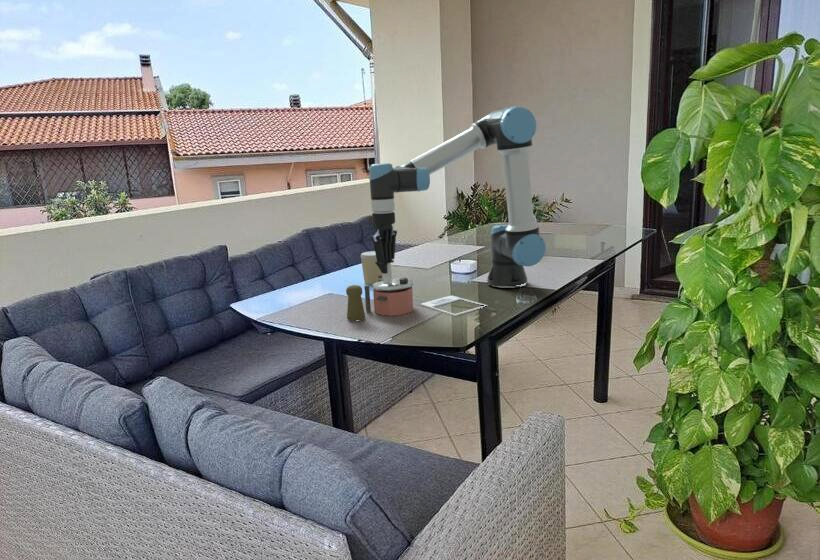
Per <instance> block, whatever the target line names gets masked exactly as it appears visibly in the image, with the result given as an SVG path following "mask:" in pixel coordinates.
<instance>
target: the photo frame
mask: <svg viewBox="0 0 820 560" xmlns="http://www.w3.org/2000/svg"><path fill="white" fill-rule="evenodd" d="M462 300H464V301H463V302H466V301H467V302H466V303H469V302H471V303H470V304H473V303H475V304H474V305H477V304H479V305H478V306H477V307H474V308H471V309H468V310H464V311H461V312H457V313H453V312H451V311H447V310H443V309H439V308H437V307H439V306H445V305H447V304H451V303H453V302H458V301H462ZM480 305H484V306H480ZM419 306H421V307H423V308H424V307H425V308H428V309H431V310H433V311H436V312H440V313H443V314H447V315H449V316H453V317H457V316H461V315H465V314H468V313H471V312H474V310H475V311H478V310H481V309H484V308H483V307H485V306H487V307H488V304H485V303H482V302H477V301H473V300H470V299H466V298H462V297H459V296H455V295H452V294H451V295H447V296H444V297H440V298H436V299H432V300H429V301H426V302H422V303H419ZM480 308H481V309H480ZM485 308H486V307H485ZM477 309H478V310H477Z"/></svg>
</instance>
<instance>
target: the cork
mask: <svg viewBox="0 0 820 560" xmlns="http://www.w3.org/2000/svg"><path fill="white" fill-rule="evenodd" d="M345 292H346V293H345V294H346V295H347V312H346V320H347V319H348V320H350V321H349V322H353V321H355V322H357V321H356V320H362V319H364V318H365V319H366V313H365V310H364V309H365V308H364V304H363V301H362V300H363V299H362V295H363V287H362V286H360V285H356V284H352V285H349V286H347V287H346V289H345ZM365 319H364V320H365ZM348 320H347V321H348ZM362 321H363V320H362Z"/></svg>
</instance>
